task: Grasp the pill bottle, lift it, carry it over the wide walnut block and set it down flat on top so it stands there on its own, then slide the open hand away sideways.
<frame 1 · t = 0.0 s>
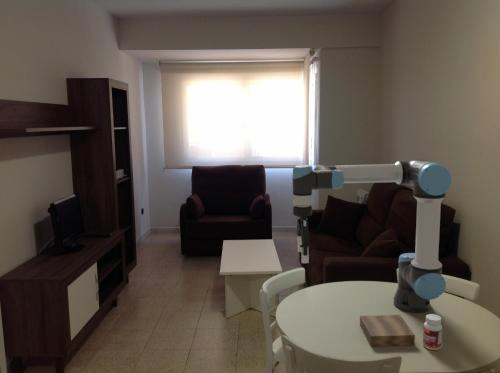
hand: (302, 257, 175), 28 cm above the table, fingers open, 13 cm apart
walnut block: (385, 334, 169), on the table
pill bottle: (432, 346, 160), on the table
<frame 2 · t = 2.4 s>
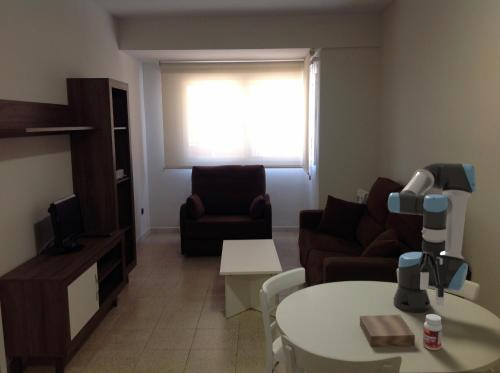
hand: (431, 296, 157), 19 cm above the table, fingers open, 13 cm apart
nothing on the table moved.
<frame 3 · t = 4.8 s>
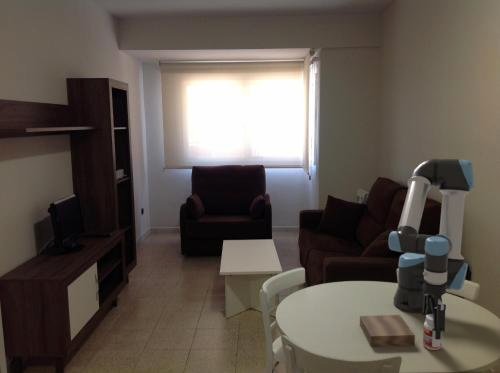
hand: (432, 341, 159), 2 cm above the table, fingers closed on pill bottle, 6 cm apart
pill bottle: (432, 346, 160), on the table, touching gripper
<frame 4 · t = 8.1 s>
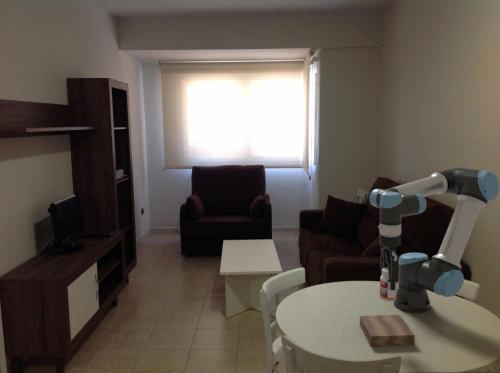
hand: (388, 293, 165), 17 cm above the table, fingers closed on pill bottle, 6 cm apart
pill bottle: (388, 299, 166), point 15 cm above the table, touching gripper
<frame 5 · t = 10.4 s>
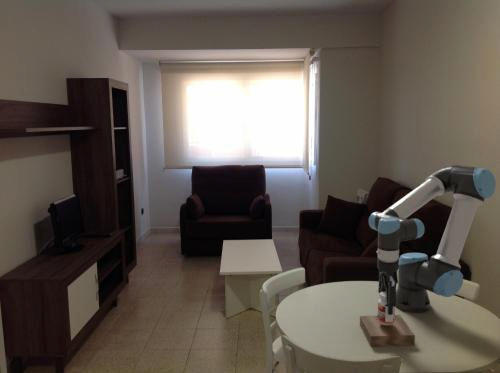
hand: (386, 317, 167), 7 cm above the table, fingers closed on pill bottle, 6 cm apart
pill bottle: (385, 322, 168), point 5 cm above the table, touching gripper
when the fingers open (6 cm above the table, at t = 11.8 s): pill bottle stays where it is, resting on walnut block.
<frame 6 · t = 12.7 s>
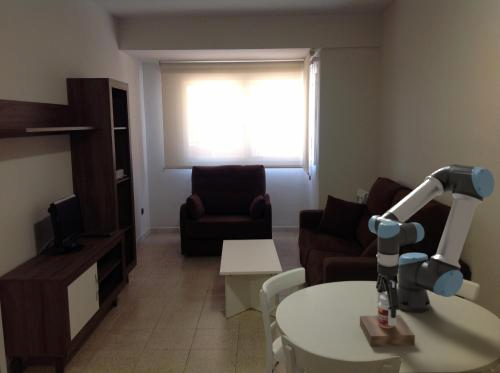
hand: (386, 316, 167), 8 cm above the table, fingers open, 13 cm apart
pill bottle: (385, 325, 168), point 4 cm above the table, touching walnut block
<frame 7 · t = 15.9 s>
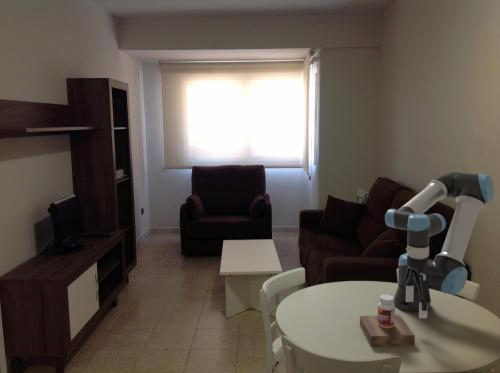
hand: (415, 309, 167), 10 cm above the table, fingers open, 13 cm apart
nothing on the table moved.
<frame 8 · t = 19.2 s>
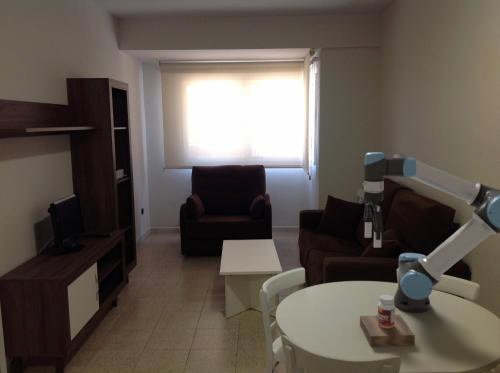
hand: (372, 242, 180), 32 cm above the table, fingers open, 13 cm apart
nothing on the table moved.
at the end: pill bottle inside the target area on the walnut block (0.1 cm from its centre), point 3.8 cm above the walnut block's base; pill bottle tilted 0°; the gripper is holding nothing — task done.
